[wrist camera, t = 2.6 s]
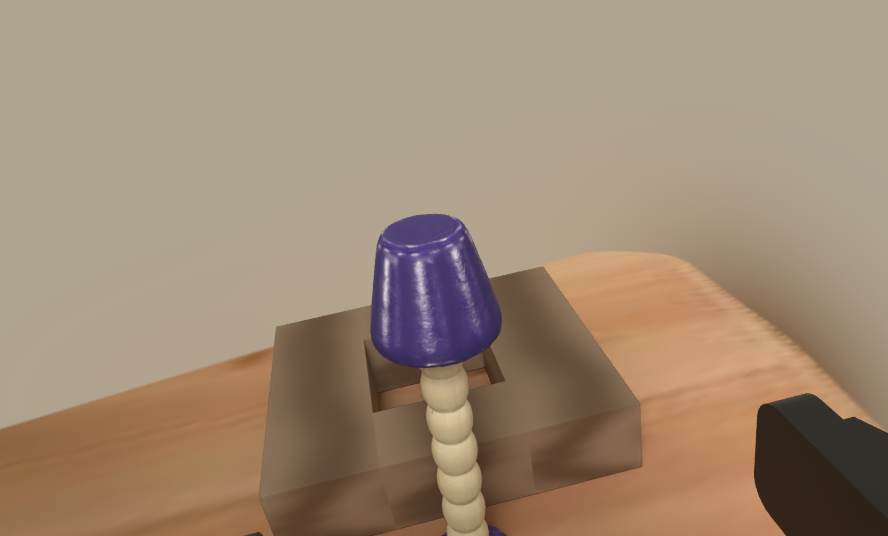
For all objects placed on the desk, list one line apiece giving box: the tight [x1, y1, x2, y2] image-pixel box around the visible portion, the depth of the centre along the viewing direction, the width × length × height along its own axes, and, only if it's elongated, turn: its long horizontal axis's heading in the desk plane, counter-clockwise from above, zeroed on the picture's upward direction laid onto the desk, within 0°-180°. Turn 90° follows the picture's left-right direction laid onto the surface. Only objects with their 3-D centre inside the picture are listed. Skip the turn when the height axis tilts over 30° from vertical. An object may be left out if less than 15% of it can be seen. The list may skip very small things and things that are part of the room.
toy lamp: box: [370, 214, 506, 536], centre depth 25 cm, size 5×5×17 cm
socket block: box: [259, 267, 642, 536], centre depth 38 cm, size 18×15×4 cm
